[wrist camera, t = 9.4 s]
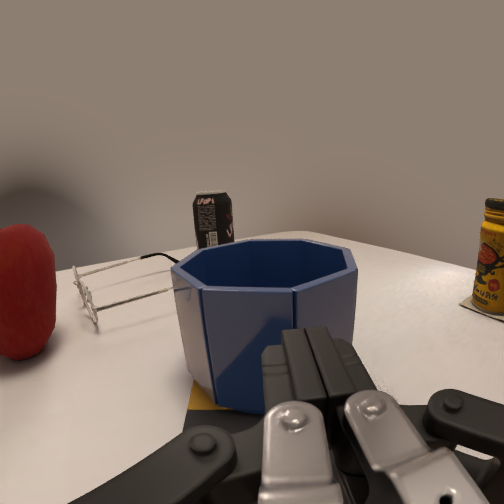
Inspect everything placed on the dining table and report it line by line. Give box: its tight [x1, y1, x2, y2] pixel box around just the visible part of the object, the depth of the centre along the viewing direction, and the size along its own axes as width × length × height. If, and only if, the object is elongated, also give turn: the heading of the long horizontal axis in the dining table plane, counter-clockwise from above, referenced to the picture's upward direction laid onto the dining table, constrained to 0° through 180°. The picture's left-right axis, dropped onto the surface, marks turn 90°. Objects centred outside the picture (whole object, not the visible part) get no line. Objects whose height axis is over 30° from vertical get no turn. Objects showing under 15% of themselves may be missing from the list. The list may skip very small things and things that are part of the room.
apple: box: [0, 224, 57, 360], centre depth 21 cm, size 12×12×13 cm
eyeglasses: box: [73, 253, 179, 323], centre depth 37 cm, size 16×19×5 cm
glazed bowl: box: [171, 239, 358, 415], centre depth 20 cm, size 11×11×8 cm
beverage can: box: [193, 190, 234, 250], centre depth 45 cm, size 6×6×12 cm
